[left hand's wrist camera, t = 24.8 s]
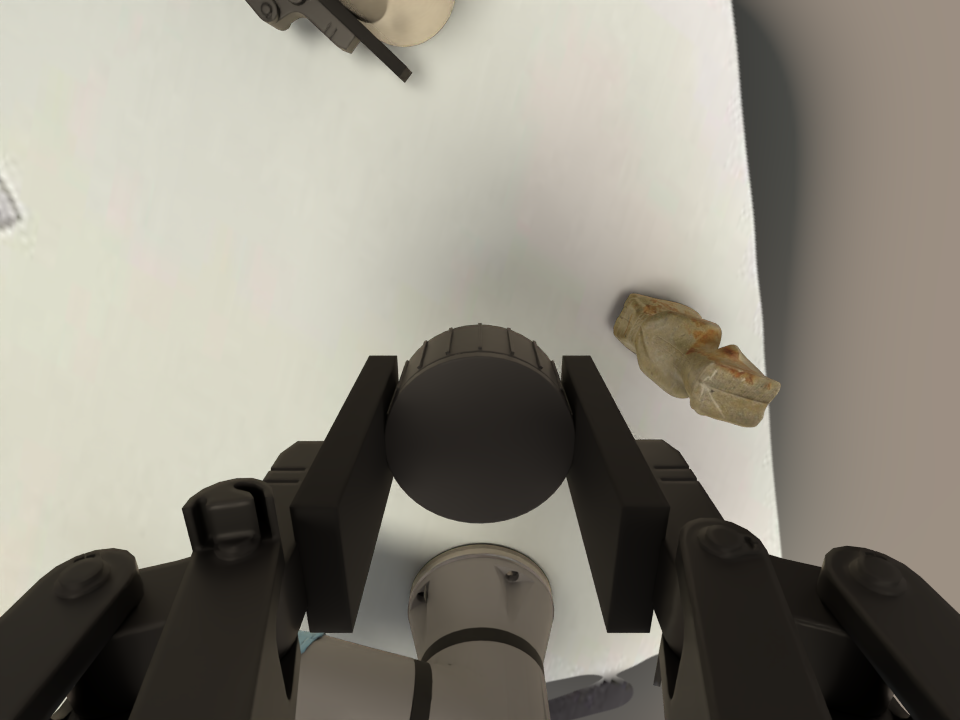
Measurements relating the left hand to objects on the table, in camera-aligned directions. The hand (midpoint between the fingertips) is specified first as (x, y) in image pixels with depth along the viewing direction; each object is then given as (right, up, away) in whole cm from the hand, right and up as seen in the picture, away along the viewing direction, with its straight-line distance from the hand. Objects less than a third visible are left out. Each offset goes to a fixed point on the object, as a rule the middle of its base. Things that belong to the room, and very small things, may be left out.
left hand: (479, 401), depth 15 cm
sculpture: (+14, +5, +30) cm, 34 cm away
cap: (0, -1, -2) cm, 2 cm away
